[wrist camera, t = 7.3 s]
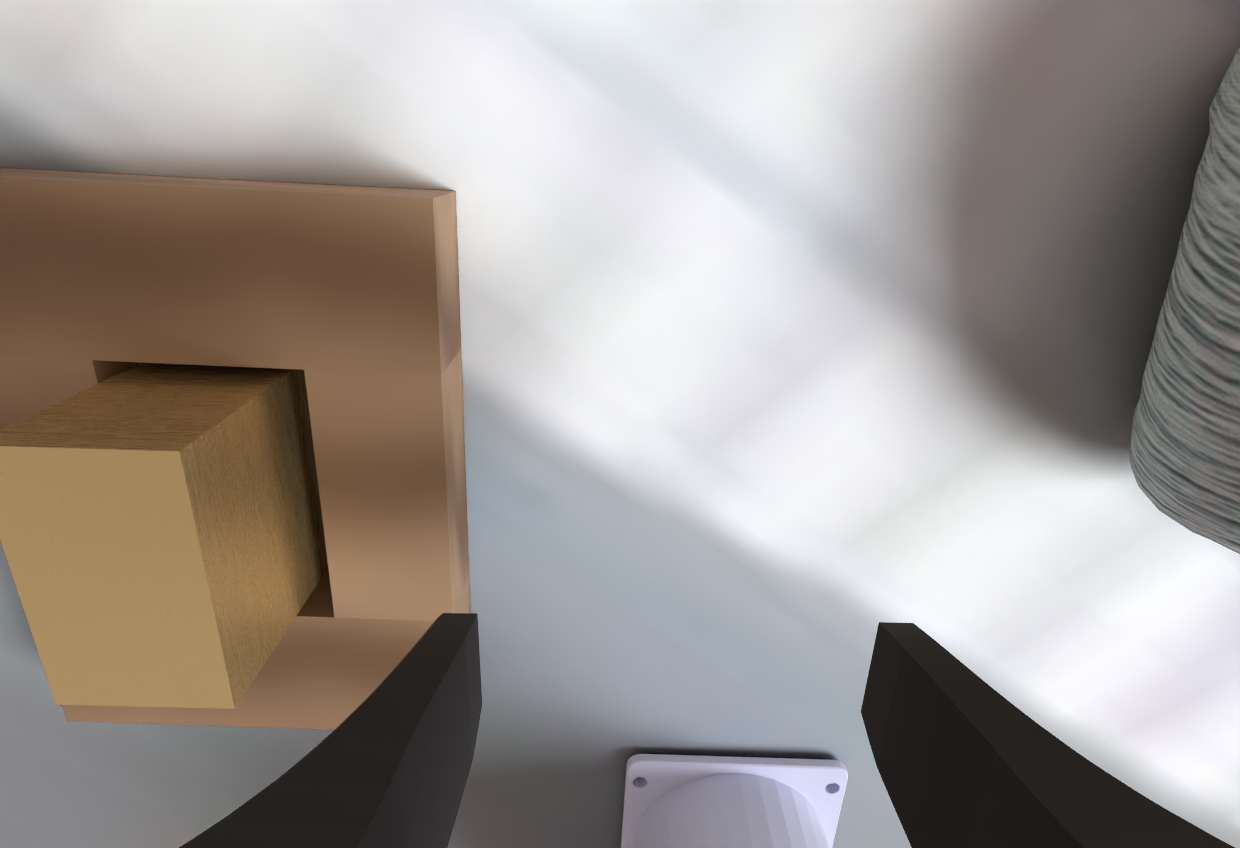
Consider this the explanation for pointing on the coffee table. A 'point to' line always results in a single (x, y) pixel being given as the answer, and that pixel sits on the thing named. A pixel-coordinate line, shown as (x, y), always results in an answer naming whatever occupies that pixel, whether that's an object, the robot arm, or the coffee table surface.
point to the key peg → (163, 531)
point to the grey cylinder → (1199, 350)
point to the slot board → (271, 338)
